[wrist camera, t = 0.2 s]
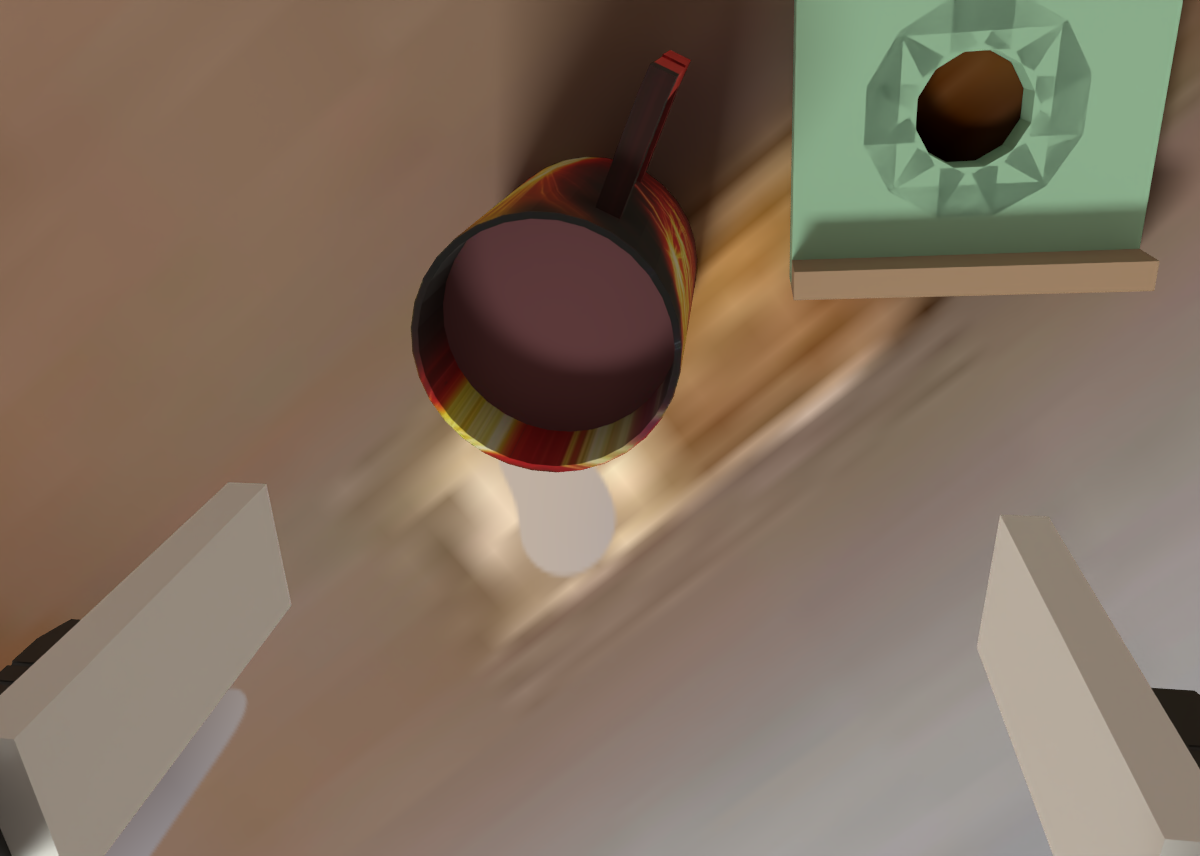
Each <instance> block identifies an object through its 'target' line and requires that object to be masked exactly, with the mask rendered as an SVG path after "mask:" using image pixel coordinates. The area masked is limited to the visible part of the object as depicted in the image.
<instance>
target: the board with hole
mask: <svg viewBox="0 0 1200 856" xmlns="http://www.w3.org/2000/svg"><path fill="white" fill-rule="evenodd" d="M1182 3H1183V0H794V54H793V112H792V170H791V229H790V282H791V287H792V293H793V299H794V300H819V299H858V298H897V297H936V296H975V295H1014V294H1053V293H1092V292H1131V291H1154V288H1155V283H1156V277H1157V272H1158V267H1159V261H1158V260H1157V259H1155V258H1154V257H1152V256H1150V255H1149V254H1147V253H1145V252H1144V251H1142V250H1140V243H1141V237H1142V232H1143V226H1144V220H1145V214H1146V209H1147V203H1148V197H1149V192H1150V186H1151V180H1152V175H1153V169H1154V163H1155V157H1156V152H1157V146H1158V140H1159V135H1160V129H1161V123H1162V118H1163V112H1164V106H1165V100H1166V95H1167V89H1168V83H1169V78H1170V72H1171V66H1172V60H1173V55H1174V49H1175V43H1176V38H1177V32H1178V26H1179V21H1180V15H1181V9H1182ZM981 50H991V51H993V52H995V53H996V54H998V55H1000V56H1002V57H1004V58H1005V59H1007V60H1009V61H1011V62H1012V64H1013V66H1014V68H1015V71H1016V73H1017V75H1018V77H1019V79H1020V81H1021V83H1022V85H1023V87H1024V91H1023V99H1022V108H1021V117H1020V120H1019V121H1018V122H1017V124H1016V125H1015V127H1014V128H1013V130H1012V131H1011V133H1010V134H1009V136H1008V137H1007V139H1006V140H1005V142H1004V143H1003V145H1001V146H999V147H998V148H996V149H994V150H993V151H991V152H989V153H987V154H986V155H984V156H982V157H981V158H979V159H977V160H975V161H956V162H945V161H943V160H942V159H940V158H938V157H936V156H934V155H932V154H931V153H929V152H927V150H926V148H925V146H924V144H923V142H922V140H921V138H920V136H919V134H918V132H917V131H916V117H917V103H918V97H919V95H920V94H921V92H922V90H923V89H924V87H925V86H926V84H927V82H928V81H929V79H930V78H931V76H932V74H933V73H934V71H935V70H936V69H937V68H939V67H940V66H942V65H944V64H945V63H947V62H948V61H950V60H952V59H953V58H955V57H956V56H958V55H960V54H961V53H963V52H966V51H981Z"/></svg>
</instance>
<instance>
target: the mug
mask: <svg viewBox="0 0 1200 856" xmlns="http://www.w3.org/2000/svg"><path fill="white" fill-rule="evenodd" d="M690 61H691V60H690V59H688V58H686V57H684V56H682V55H680V54H678V53H676V52H674V51H671V50H669V51H667V52H666V53H664V54H663V56H662V57H661V58H659V59H658V60H656V61H655V62H653V63H652V64H650V66H649V68H648V70H647V73H646V75H645V77H644V80H643V82H642V84H641V86H640V89H639V91H638V93H637V96H636V99H635V102H634V104H633V107H632V110H631V112H630V115H629V118H628V120H627V123H626V126H625V129H624V131H623V134H622V137H621V139H620V142H619V145H618V147H617V150H616V153H615V155H614V158H613V160H612V159H609V158H596V157H582V158H576V159H570V160H564V161H562V162H559V163H557V164H554V165H551V166H549V167H546V168H545V169H543V170H541V171H540V172H538V173H537V174H535V175H534V176H532V177H531V178H529V179H528V180H527V181H525V182H524V183H523V184H522V185H520V186H519V187H518V188H517V189H516V190H514V191H513V192H512V193H511V194H509V195H508V196H507V197H506V198H505V199H503V200H502V201H501V202H500V203H498V204H497V205H496V206H495V207H493V208H492V209H491V210H490V211H489V212H487V213H486V214H485V215H484V216H482V217H481V218H480V219H479V220H477V221H476V222H475V223H474V224H473V225H471V226H470V227H469V228H468V229H466V230H465V231H464V232H463V233H461V234H460V235H459V236H458V237H457V238H455V239H454V240H453V241H452V242H451V243H450V244H449V245H448V246H447V247H446V248H445V249H444V250H443V251H442V252H441V253H440V254H439V255H438V256H437V257H436V259H435V261H434V262H433V264H432V265H431V267H430V268H429V270H428V272H427V273H426V275H425V276H424V278H423V280H422V283H421V286H420V288H419V291H418V294H417V297H416V299H415V302H414V309H413V316H412V323H411V337H412V352H413V356H414V360H415V364H416V368H417V371H418V375H419V378H420V380H421V382H422V384H423V386H424V389H425V391H426V393H427V395H428V397H429V399H430V401H431V402H432V403H433V405H434V406H435V408H436V409H437V410H438V412H439V413H440V415H441V416H442V417H443V419H444V420H445V421H446V422H447V423H448V424H449V425H450V426H451V427H452V428H453V429H454V430H455V431H456V432H457V433H458V434H459V435H460V436H461V437H462V438H463V439H465V440H466V441H468V442H469V443H471V444H472V445H473V446H475V447H476V448H478V449H479V450H481V451H482V452H484V453H486V454H488V455H490V456H492V457H494V458H496V459H499V460H501V461H503V462H505V463H508V464H511V465H515V466H518V467H522V468H526V469H530V470H537V471H549V472H565V471H576V470H583V469H587V468H590V467H594V466H597V465H601V464H605V463H607V462H609V461H611V460H613V459H615V458H617V457H619V456H621V455H623V454H625V453H627V452H628V451H629V450H631V449H632V448H633V447H634V446H636V445H637V444H638V443H639V442H641V441H642V440H643V439H644V438H646V437H647V436H648V434H649V433H650V432H651V431H652V430H653V428H654V427H655V426H656V425H657V424H658V422H659V421H660V420H661V419H662V417H663V415H664V413H665V412H666V410H667V408H668V406H669V404H670V402H671V400H672V398H673V397H674V393H675V389H676V386H677V382H678V379H679V375H680V372H681V366H682V359H683V353H684V347H685V341H686V335H687V329H688V323H689V317H690V311H691V305H692V299H693V293H694V287H695V281H696V268H697V255H696V247H695V239H694V236H693V233H692V230H691V227H690V224H689V222H688V219H687V217H686V216H685V214H684V212H683V210H682V209H681V207H680V205H679V203H678V202H677V200H676V199H675V198H674V197H673V196H672V195H671V194H670V193H669V191H668V190H667V189H666V188H665V187H664V186H663V185H662V184H661V183H659V182H658V181H657V180H655V179H654V178H653V177H651V176H650V175H649V174H648V173H646V170H647V167H648V165H649V162H650V160H651V157H652V155H653V152H654V149H655V147H656V144H657V142H658V139H659V137H660V134H661V132H662V129H663V126H664V124H665V121H666V119H667V116H668V114H669V111H670V108H671V106H672V103H673V101H674V98H675V96H676V93H677V90H678V88H679V85H680V83H681V81H682V79H683V76H684V74H685V72H686V70H687V68H688V65H689V63H690Z"/></svg>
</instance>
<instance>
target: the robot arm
mask: <svg viewBox="0 0 1200 856" xmlns="http://www.w3.org/2000/svg"><path fill="white" fill-rule="evenodd" d="M290 607H291V601H290V596H289V591H288V586H287V582H286V577H285V572H284V567H283V562H282V557H281V552H280V548H279V543H278V538H277V533H276V528H275V523H274V518H273V514H272V509H271V504H270V499H269V494H268V489H267V484H255V483H231V482H228V483H227V484H226V485H225V486H224V487H223V488H222V489H221V490H220V491H219V492H217V493H216V494H215V495H214V496H213V497H212V498H211V499H210V500H209V501H208V502H207V503H206V504H205V505H204V506H202V507H201V508H200V509H199V510H198V511H197V512H196V513H195V514H194V515H193V516H192V517H191V518H190V519H189V520H187V521H186V522H185V523H184V524H183V525H182V526H181V527H180V528H179V529H178V530H177V531H176V532H175V533H174V534H172V535H171V536H170V537H169V538H168V539H167V540H166V541H165V542H164V543H163V544H162V545H161V546H160V547H159V548H157V549H156V550H155V551H154V552H153V553H152V554H151V555H150V556H149V557H148V558H147V559H146V560H145V561H144V562H142V563H141V564H140V565H139V566H138V567H137V568H136V569H135V570H134V571H133V572H132V573H131V574H130V575H129V576H127V577H126V578H125V579H124V580H123V581H122V582H121V583H120V584H119V585H118V586H117V587H116V588H115V589H113V590H112V591H111V592H110V593H109V594H108V595H107V596H106V597H105V598H104V599H103V600H102V601H101V602H100V603H98V604H97V605H96V606H95V607H94V608H93V609H92V610H91V611H90V612H89V613H88V614H87V615H86V616H85V617H83V618H82V619H81V620H76V619H71V620H69V621H67V622H65V623H63V624H62V625H60V626H58V627H56V628H55V629H53V630H51V631H49V632H48V633H46V634H44V635H42V636H41V637H39V638H37V639H36V640H35V641H34V642H33V643H32V644H31V645H29V646H28V647H27V648H26V649H25V650H24V651H23V652H22V653H21V654H19V655H18V656H17V657H16V658H15V659H14V660H13V661H12V665H11V666H9V665H7V666H6V667H5V668H4V669H3V670H2V671H1V672H0V856H104V855H105V854H106V853H107V851H108V850H109V849H110V847H111V846H112V845H113V843H114V842H115V841H116V839H117V838H118V836H119V835H120V834H121V833H122V831H123V830H124V828H125V827H126V826H127V825H128V823H129V822H130V821H131V819H132V818H133V817H134V815H135V814H136V813H137V811H138V810H139V809H140V807H141V805H143V803H144V802H145V801H146V799H147V798H148V797H149V795H150V794H151V793H152V791H153V790H154V789H155V787H156V786H157V785H158V783H159V782H160V780H161V779H162V778H163V776H164V775H165V774H166V772H167V771H168V770H169V768H170V767H171V766H172V764H173V763H174V762H175V760H176V759H177V758H178V756H179V755H180V754H181V752H182V751H183V750H184V748H185V747H186V746H187V744H188V743H189V742H190V740H191V739H192V738H193V736H194V735H195V734H196V732H197V731H198V730H199V728H200V727H201V726H202V724H203V723H204V721H205V720H206V719H207V718H208V716H209V715H210V714H211V712H212V711H213V710H214V708H215V707H216V705H217V704H218V703H219V702H220V700H221V699H222V697H223V696H224V695H225V694H226V692H227V691H228V690H229V688H230V687H231V686H232V684H233V683H234V682H235V680H236V679H237V678H238V676H239V675H240V674H241V672H242V671H243V669H244V668H245V667H246V665H247V664H248V663H249V661H250V660H251V659H252V657H253V656H254V655H255V653H256V652H257V651H258V649H259V648H260V647H261V645H262V644H263V643H264V641H265V640H266V639H267V637H268V636H269V635H270V633H271V632H272V631H273V629H274V628H275V627H276V625H277V624H278V623H279V621H280V620H281V619H282V617H283V616H284V615H285V613H286V612H287V611H288V609H289V608H290ZM977 649H978V652H979V655H980V657H981V660H982V663H983V665H984V668H985V671H986V674H987V676H988V679H989V682H990V685H991V687H992V690H993V693H994V695H995V698H996V701H997V704H998V706H999V709H1000V712H1001V715H1002V717H1003V720H1004V723H1005V725H1006V728H1007V731H1008V734H1009V736H1010V739H1011V742H1012V744H1013V747H1014V750H1015V753H1016V755H1017V758H1018V761H1019V764H1020V766H1021V769H1022V772H1023V774H1024V777H1025V780H1026V783H1027V785H1028V788H1029V791H1030V794H1031V796H1032V799H1033V802H1034V804H1035V807H1036V810H1037V813H1038V815H1039V818H1040V821H1041V823H1042V826H1043V829H1044V832H1045V834H1046V837H1047V840H1048V843H1049V845H1050V848H1051V851H1052V853H1053V856H1200V695H1199V694H1198V693H1197V692H1195V691H1190V690H1175V689H1160V688H1151V687H1150V685H1149V684H1148V682H1147V680H1146V679H1145V677H1144V675H1143V674H1142V672H1141V670H1140V669H1139V667H1138V665H1137V664H1136V662H1135V660H1134V659H1133V657H1132V655H1131V654H1130V652H1129V650H1128V649H1127V647H1126V645H1125V644H1124V642H1123V640H1122V639H1121V637H1120V635H1119V634H1118V632H1117V630H1116V629H1115V627H1114V625H1113V624H1112V622H1111V620H1110V619H1109V617H1108V615H1107V614H1106V612H1105V610H1104V609H1103V607H1102V605H1101V604H1100V602H1099V600H1098V599H1097V597H1096V595H1095V594H1094V592H1093V590H1092V589H1091V587H1090V585H1089V584H1088V582H1087V580H1086V579H1085V577H1084V575H1083V574H1082V572H1081V570H1080V569H1079V567H1078V565H1077V564H1076V562H1075V560H1074V559H1073V557H1072V555H1071V554H1070V552H1069V550H1068V549H1067V547H1066V545H1065V544H1064V542H1063V540H1062V539H1061V537H1060V535H1059V534H1058V532H1057V530H1056V529H1055V527H1054V525H1053V524H1052V522H1051V520H1050V519H1049V517H1040V516H1016V515H1000V519H999V525H998V530H997V536H996V542H995V547H994V553H993V559H992V565H991V570H990V576H989V582H988V587H987V593H986V599H985V604H984V610H983V616H982V621H981V627H980V633H979V638H978V644H977Z"/></svg>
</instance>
